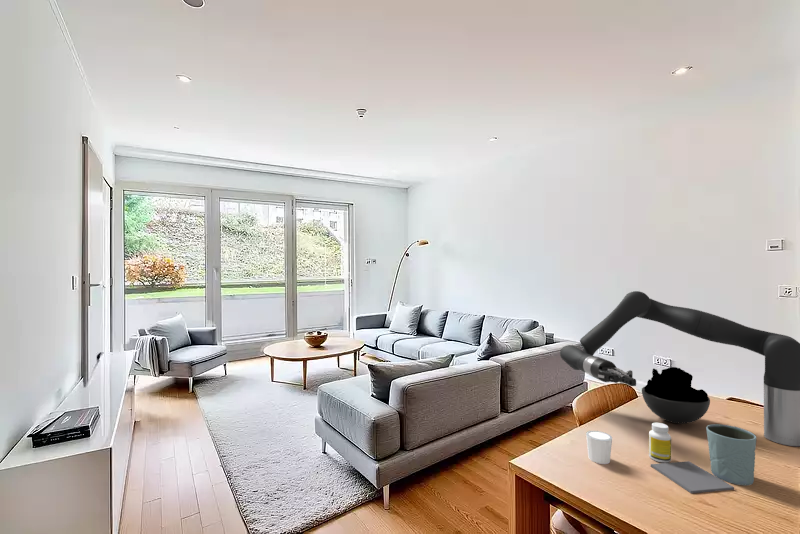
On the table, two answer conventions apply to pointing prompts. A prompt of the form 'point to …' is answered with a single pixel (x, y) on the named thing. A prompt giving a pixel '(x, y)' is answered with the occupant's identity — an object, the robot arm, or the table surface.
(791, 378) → the robot arm
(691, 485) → the mat
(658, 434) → the supplement bottle
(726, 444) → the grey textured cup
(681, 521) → the table surface
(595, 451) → the shot glass
